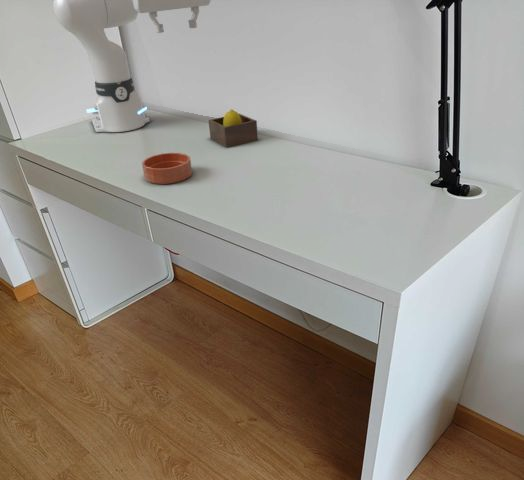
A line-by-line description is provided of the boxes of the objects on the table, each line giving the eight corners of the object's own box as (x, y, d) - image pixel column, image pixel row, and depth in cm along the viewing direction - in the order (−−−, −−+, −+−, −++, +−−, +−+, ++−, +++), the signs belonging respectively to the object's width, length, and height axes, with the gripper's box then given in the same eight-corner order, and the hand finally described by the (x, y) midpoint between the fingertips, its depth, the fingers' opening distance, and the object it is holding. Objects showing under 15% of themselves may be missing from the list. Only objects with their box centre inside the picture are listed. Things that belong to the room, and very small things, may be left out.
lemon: (245, 138, 149) (243, 110, 144) (228, 141, 147) (225, 113, 142) (238, 134, 153) (236, 105, 148) (222, 137, 151) (219, 108, 146)
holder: (210, 139, 152) (208, 120, 149) (240, 132, 156) (239, 113, 153) (226, 147, 145) (224, 127, 142) (257, 140, 149) (256, 120, 145)
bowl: (138, 174, 131) (135, 159, 129) (180, 164, 136) (178, 149, 133) (155, 188, 123) (152, 172, 120) (200, 177, 127) (198, 161, 125)
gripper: (200, -40, 128) (207, 24, 136) (124, -34, 120) (136, 34, 129) (211, -40, 123) (217, 26, 132) (132, -34, 116) (145, 36, 125)
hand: (176, 30), depth 130 cm, fingers open, 8 cm apart
